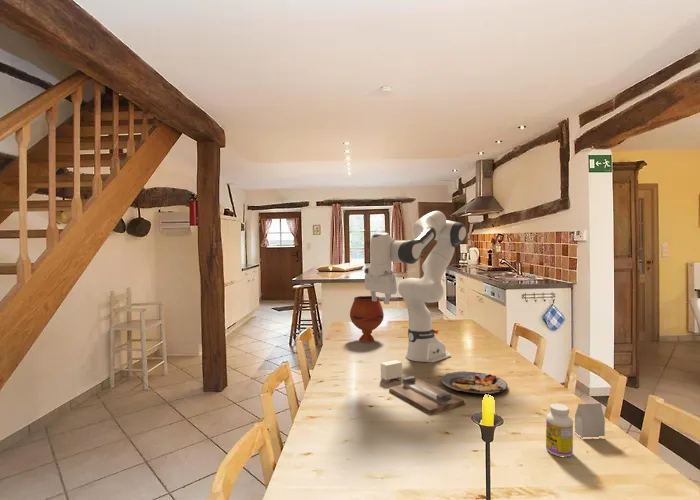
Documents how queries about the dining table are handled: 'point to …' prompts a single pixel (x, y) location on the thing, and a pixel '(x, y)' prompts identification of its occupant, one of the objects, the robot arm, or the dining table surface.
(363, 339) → the goblet
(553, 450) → the supplement bottle
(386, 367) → the block
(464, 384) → the food plate
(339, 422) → the dining table surface
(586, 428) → the grey upright block
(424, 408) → the rail board
